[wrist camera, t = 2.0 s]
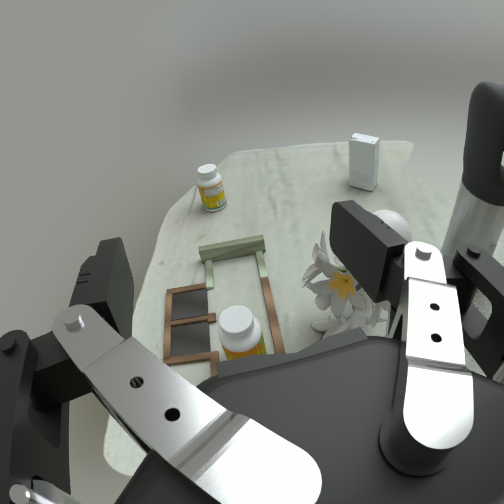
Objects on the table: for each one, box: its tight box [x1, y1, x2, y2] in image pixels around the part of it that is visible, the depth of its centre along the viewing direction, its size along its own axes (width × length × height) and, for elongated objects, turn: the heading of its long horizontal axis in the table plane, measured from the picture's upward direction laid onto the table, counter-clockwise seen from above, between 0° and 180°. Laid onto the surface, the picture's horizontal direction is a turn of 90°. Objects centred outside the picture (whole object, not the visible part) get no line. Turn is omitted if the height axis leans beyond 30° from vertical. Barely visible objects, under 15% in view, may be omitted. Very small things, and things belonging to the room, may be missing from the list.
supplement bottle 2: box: [219, 305, 266, 360], centre depth 40 cm, size 5×5×10 cm
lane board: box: [164, 235, 285, 376], centre depth 49 cm, size 25×18×3 cm
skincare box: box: [349, 133, 379, 191], centre depth 67 cm, size 6×4×12 cm
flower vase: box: [302, 210, 412, 340], centre depth 44 cm, size 13×18×25 cm
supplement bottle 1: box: [197, 164, 227, 212], centre depth 68 cm, size 5×5×10 cm
